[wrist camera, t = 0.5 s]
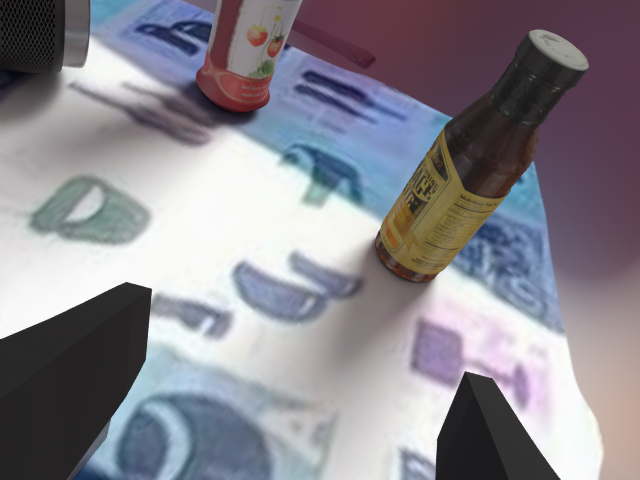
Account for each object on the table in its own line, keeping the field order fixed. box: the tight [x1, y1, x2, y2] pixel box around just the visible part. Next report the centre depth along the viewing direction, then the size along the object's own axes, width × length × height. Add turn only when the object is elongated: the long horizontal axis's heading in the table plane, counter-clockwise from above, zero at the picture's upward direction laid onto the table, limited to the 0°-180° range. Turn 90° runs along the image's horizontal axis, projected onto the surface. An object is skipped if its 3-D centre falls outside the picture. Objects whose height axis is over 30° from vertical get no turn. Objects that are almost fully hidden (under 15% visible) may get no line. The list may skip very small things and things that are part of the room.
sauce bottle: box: [376, 30, 588, 282], centre depth 40 cm, size 7×6×20 cm
